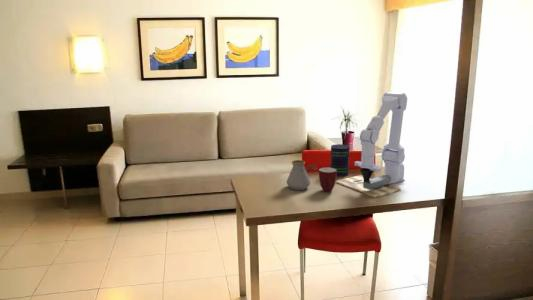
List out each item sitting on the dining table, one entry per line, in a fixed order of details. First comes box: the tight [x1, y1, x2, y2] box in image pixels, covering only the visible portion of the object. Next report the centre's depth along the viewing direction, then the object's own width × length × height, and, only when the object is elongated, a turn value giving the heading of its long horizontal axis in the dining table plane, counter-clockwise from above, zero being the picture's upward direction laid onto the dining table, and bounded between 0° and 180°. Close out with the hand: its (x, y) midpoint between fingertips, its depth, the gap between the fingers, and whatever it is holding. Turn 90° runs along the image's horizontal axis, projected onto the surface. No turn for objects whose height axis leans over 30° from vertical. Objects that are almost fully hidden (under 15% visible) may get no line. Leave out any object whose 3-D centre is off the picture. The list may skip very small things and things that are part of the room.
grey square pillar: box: [363, 174, 392, 190], centre depth 182 cm, size 17×4×4 cm, turn 127°
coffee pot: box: [286, 159, 319, 191], centre depth 182 cm, size 21×12×15 cm, turn 24°
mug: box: [318, 167, 337, 193], centre depth 181 cm, size 11×8×10 cm
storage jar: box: [329, 143, 351, 177], centre depth 207 cm, size 10×10×15 cm
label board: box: [335, 174, 402, 199], centre depth 188 cm, size 17×26×1 cm, turn 31°
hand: (366, 183), depth 181 cm, fingers closed
